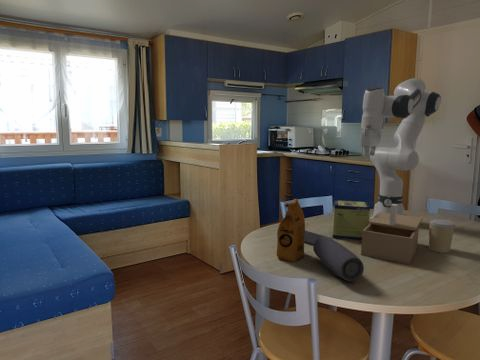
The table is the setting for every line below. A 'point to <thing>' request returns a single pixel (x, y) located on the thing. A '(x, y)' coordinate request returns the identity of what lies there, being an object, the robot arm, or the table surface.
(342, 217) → the protein box
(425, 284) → the table surface
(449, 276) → the table surface
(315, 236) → the notebook
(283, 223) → the coffee package
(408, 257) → the carton
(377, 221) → the carton lid
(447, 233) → the coffee cup
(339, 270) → the bluetooth speaker
